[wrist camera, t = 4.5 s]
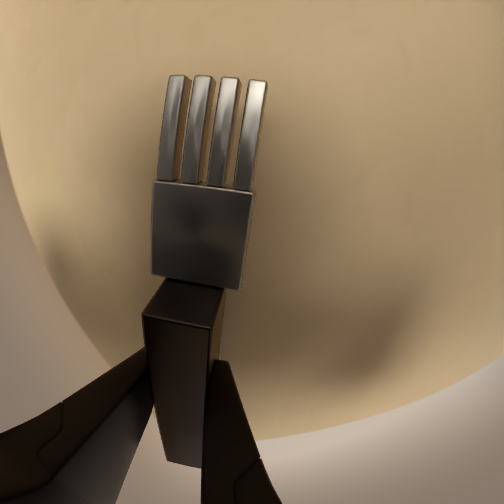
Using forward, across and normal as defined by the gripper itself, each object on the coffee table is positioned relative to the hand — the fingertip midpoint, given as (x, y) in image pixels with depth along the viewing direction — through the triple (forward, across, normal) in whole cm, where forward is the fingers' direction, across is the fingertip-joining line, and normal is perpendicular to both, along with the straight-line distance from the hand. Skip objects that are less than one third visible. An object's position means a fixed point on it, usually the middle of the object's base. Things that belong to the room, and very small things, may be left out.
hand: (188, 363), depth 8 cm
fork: (+1, 0, -1) cm, 1 cm away
